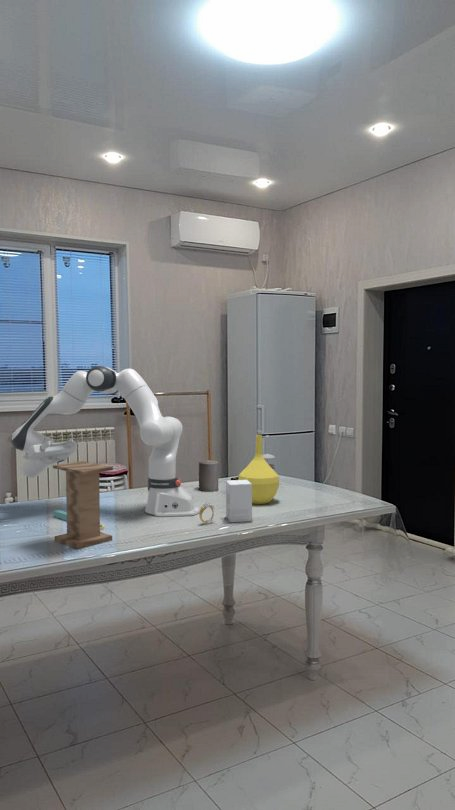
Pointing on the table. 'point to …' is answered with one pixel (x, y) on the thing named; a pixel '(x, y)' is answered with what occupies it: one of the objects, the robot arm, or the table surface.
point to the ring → (204, 509)
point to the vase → (260, 477)
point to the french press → (268, 456)
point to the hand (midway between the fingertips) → (61, 441)
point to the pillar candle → (208, 476)
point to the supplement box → (238, 500)
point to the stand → (82, 505)
